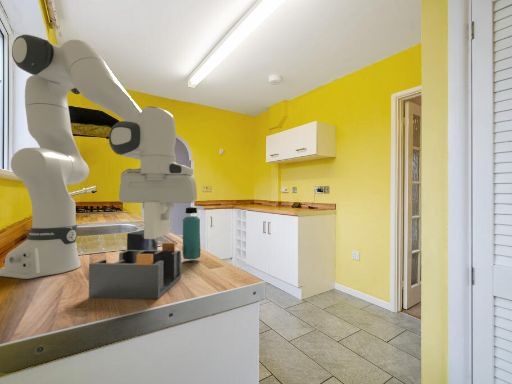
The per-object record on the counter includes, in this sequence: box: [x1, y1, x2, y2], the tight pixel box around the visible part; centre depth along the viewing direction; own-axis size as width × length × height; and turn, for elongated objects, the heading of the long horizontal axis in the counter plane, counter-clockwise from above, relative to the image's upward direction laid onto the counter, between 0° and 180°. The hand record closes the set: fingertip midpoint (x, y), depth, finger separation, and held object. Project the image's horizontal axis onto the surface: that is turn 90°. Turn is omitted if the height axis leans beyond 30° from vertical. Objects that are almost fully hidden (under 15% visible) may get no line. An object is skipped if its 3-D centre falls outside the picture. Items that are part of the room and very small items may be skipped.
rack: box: [88, 241, 182, 300], centre depth 66 cm, size 17×15×10 cm
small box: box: [126, 229, 159, 250], centre depth 94 cm, size 11×6×10 cm, turn 168°
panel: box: [143, 202, 171, 239], centre depth 65 cm, size 2×10×9 cm, turn 177°
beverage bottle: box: [181, 206, 201, 260], centre depth 90 cm, size 6×7×20 cm
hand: (158, 220), depth 65 cm, fingers closed on panel, 2 cm apart
